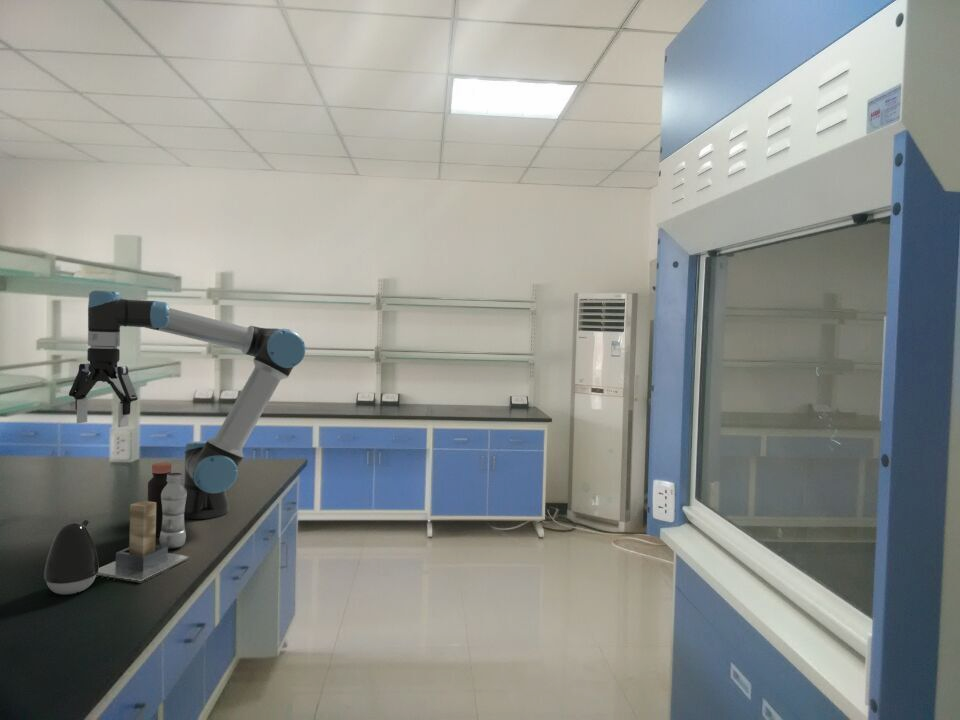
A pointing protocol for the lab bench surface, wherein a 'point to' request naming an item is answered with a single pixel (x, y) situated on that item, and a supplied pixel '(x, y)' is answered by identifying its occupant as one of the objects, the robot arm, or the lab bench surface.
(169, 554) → the grey socket base
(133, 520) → the beech rail
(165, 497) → the plastic bottle
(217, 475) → the robot arm
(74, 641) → the lab bench surface
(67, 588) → the dark grey egg shape
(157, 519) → the vinegar
